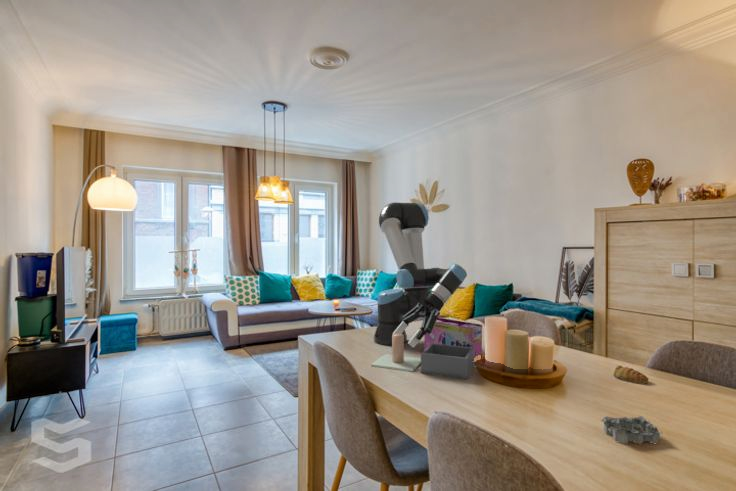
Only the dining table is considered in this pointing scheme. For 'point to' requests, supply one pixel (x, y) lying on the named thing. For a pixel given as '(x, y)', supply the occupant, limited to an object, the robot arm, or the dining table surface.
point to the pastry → (630, 375)
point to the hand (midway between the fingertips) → (402, 340)
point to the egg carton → (631, 429)
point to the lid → (397, 357)
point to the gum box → (455, 334)
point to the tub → (447, 361)
